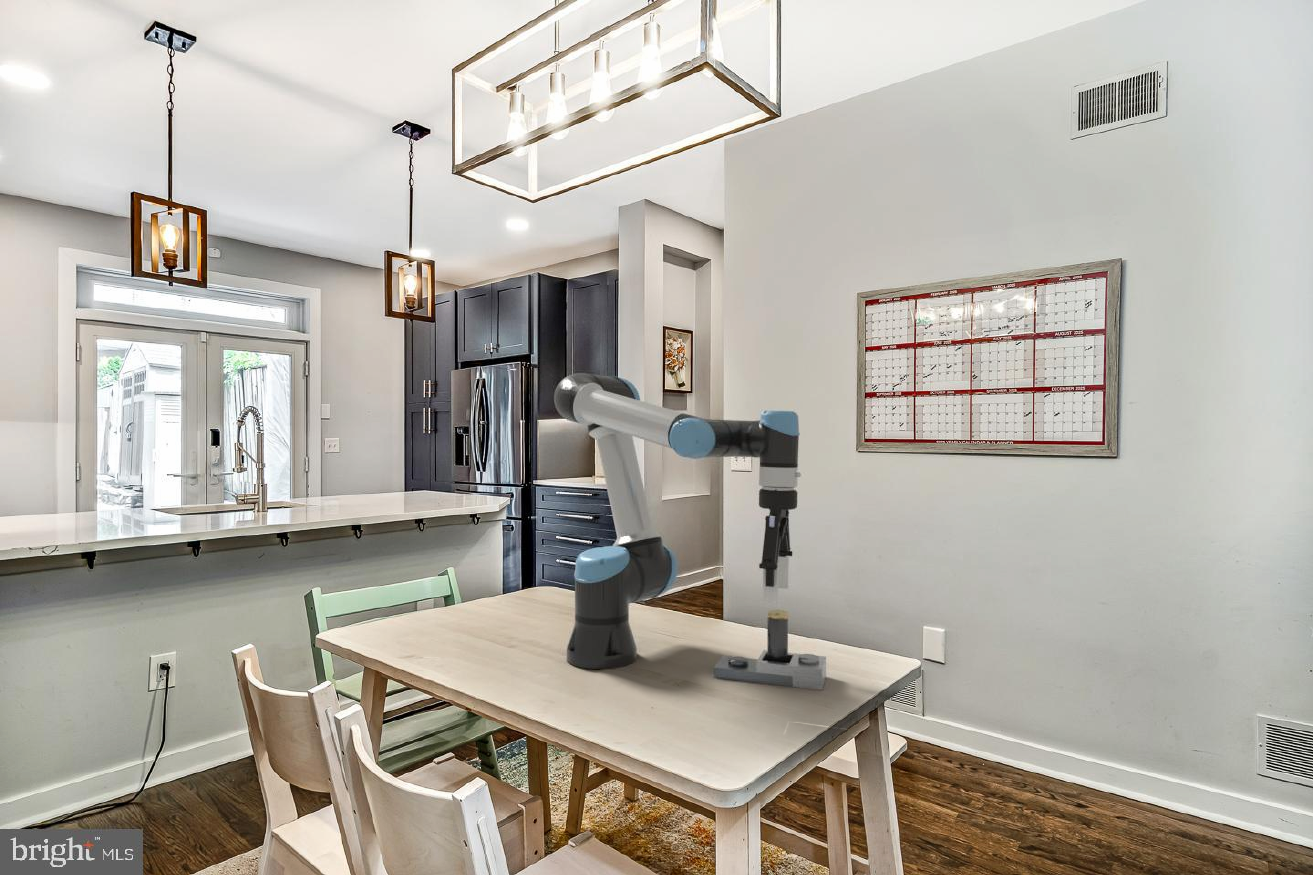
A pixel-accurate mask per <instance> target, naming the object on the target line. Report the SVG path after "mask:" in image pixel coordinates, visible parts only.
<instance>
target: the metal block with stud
mask: <svg viewBox="0 0 1313 875" xmlns="http://www.w3.org/2000/svg"><path fill="white" fill-rule="evenodd" d="M713 678H715V679H723V680H733V681H740V682H746V683H747V682H749V683H756V684H766V685H772V686H783V687H791V688H798V689H799V688H800V689H807V690H815V691H816V690H817V691H823V689H824V686H825V683H826V678H827V656H825V655H824V656H823V655H817V654H812V653H796V652H795V653H794V652H788V663H781V662H772V661H767V650H766V649H764V650H762V652H761V654H760V655H759V657H758V658H749V657H745V656H731V655H722V656H721V658H720V659H719V660H718V662H717V663H716V664H715V665H714V667H713Z"/></svg>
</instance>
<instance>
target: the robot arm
mask: <svg viewBox="0 0 1313 875" xmlns="http://www.w3.org/2000/svg"><path fill="white" fill-rule="evenodd" d="M553 395H554V396H553V400H554V406H555V409H556V410H557V412H558V414H559V415H560V416H561V417H562V418H564V419H566V421H570V422H572V423H577V424H580V425H583V426H587V431H588V434H589V436H590V437H591V438H593V439H594V440H595V441H596V443H597V447H598V451H599V452H598V453H599V456H600V457H599V458H600V461H601V466H602V472H603V476H604V481H605V486H606V490H607V496H608V500H609V505H610V508H611V509H610V510H611V513H612V519H613V523H614V528H615V533H616V540H615V541H614V543H613V544H612V545H608V546H601V547H600V546H598V547H594V548H589V549H587V550H586V549H585V550H584V551H583V552H580V554H578V556H577V557H576V559H575V570H574V572H573V577H574V625H573V628H572V631H571V634H570V637H569V641H568V644H567V647H566V661H567V662H568V663H569V664H571V665H572V666H575V667H578V668H581V669H589V670H610V669H615V668H616V669H617V668H621V667H622V668H623V667H626V666H628V665H631V664H632V663H634V662H636V660H637V657H638V656H637V654H638V653H637V652H638V651H637V650H638V649H637V644H636V640H635V637H634V635H633V632H632V629H631V626H630V620H629V619H630V616H629V612H630V611H629V610H630V607H629V606H630V604H633V603H637V602H641V601H644V600H650V599H654V598H657V597H659V596H661V595H665V594H666V593H667V592H669V590H670V589H672V587H673V586H674V583H675V582H676V580H677V576H678V562H677V557H676V556H675V553H674V552H673V551H672V550H670V547H668V546H666V545H664V544H663V539H662V536H661V534H660V533H658V532H656V531H655V530H654V528H653V524H652V520H651V519H652V518H651V516H650V510H649V507H648V501H647V497H646V492H645V489H644V484H643V479H642V475H641V470H640V464H639V461H638V456H637V452H636V447H635V442H634V438H633V437H635V438H638V439H641V440H644V441H646V442H650V443H653V444H657V445H659V446H663V447H666V448H669V449H672V450H673V451H674V453H676V454H677V455H678V456H680V457H682V458H689V459H697V460H698V459H701V458H704V459H705V458H731V457H734V458H735V457H737V458H744V457H745V458H759V469H758V470H759V472H758V474H759V475H758V486H759V487H761V488H760V490H758V506H759V507H760V508H761V509H764V510H765V509H767V510H769V514H768V515H765V519H764V520H765V528H764V537H763V544H762V545H763V546H762V556H761V562H760V563H758V564H759V566H758V567H759V569H763V570H762V603H764V604H772V605H777V604H778V602H779V601H778V600H779V597H778V596H779V593H778V592H779V589H785V590H788V589H789V562H790V560H789V559H790V558H789V557H793V551H792V550H791V540H790V538H791V537H790V518H789V516H790V511H789V510H796V509H797V507H798V491H797V490H796V489H795V488H797V487H798V478H800V477H802V474H801V472H800V471H798V470H799V469H798V466H799V464H798V461H799V460H798V459H799V442H800V441H799V440H800V439H799V438H800V437H799V436H800V428H799V427H800V425H799V415H798V414H797V413H796V412H795V411H791V410H763V411H762V412H761V414H760V417H759V419H758V420H737V419H736V420H735V419H734V420H733V419H710V418H703V417H699V416H695V415H692V414H687V413H685V412H682V411H681V412H680V411H677V410H674V409H670V408H667V407H663V406H660V405H656V404H653V403H649V402H647V401H646V402H645V401H642V400H641V397H640V393H639V391H638V389H637V388H636V387H635V385H634V384H633V383H632V382H630V381H629V380H628V379H627V378H626V379H625V378H622V377H619V376H617V375H615V376H614V375H600V374H590V373H585V372H579V373H572V374H570V375H568V376H565V378H562V380H561V381H560V382H559V383H558V385H557V386H556V387H555V390H554V394H553Z"/></svg>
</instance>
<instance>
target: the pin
mask: <svg viewBox="0 0 1313 875" xmlns="http://www.w3.org/2000/svg"><path fill="white" fill-rule="evenodd" d="M766 613H767V616H766V617H767V620H766V621H767V625H766V626H767V629H766V630H767V634H766V635H767V639H766V640H767V644H766V646H767V661H772V662H781V663H788V653H789V612H788V611H787V610H783V609H770V610H768V611H767V612H766Z"/></svg>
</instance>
